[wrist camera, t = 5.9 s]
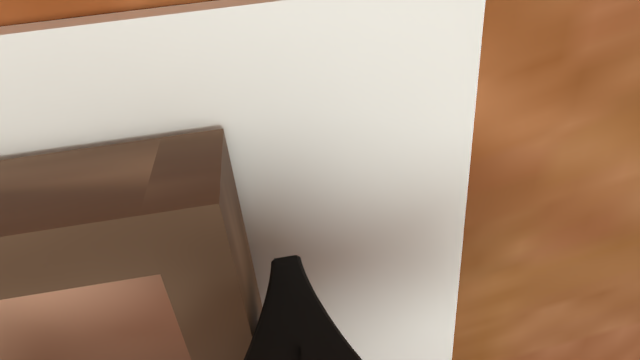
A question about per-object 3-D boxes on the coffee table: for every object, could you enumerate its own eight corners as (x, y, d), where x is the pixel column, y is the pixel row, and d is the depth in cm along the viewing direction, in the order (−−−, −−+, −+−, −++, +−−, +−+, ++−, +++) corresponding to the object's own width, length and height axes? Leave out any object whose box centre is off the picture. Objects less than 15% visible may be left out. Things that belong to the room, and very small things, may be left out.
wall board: (436, 442, 23) (443, 464, 23) (46, 517, 22) (38, 542, 21) (473, -31, 12) (491, -24, 11) (-332, 66, 11) (-380, 84, 10)
